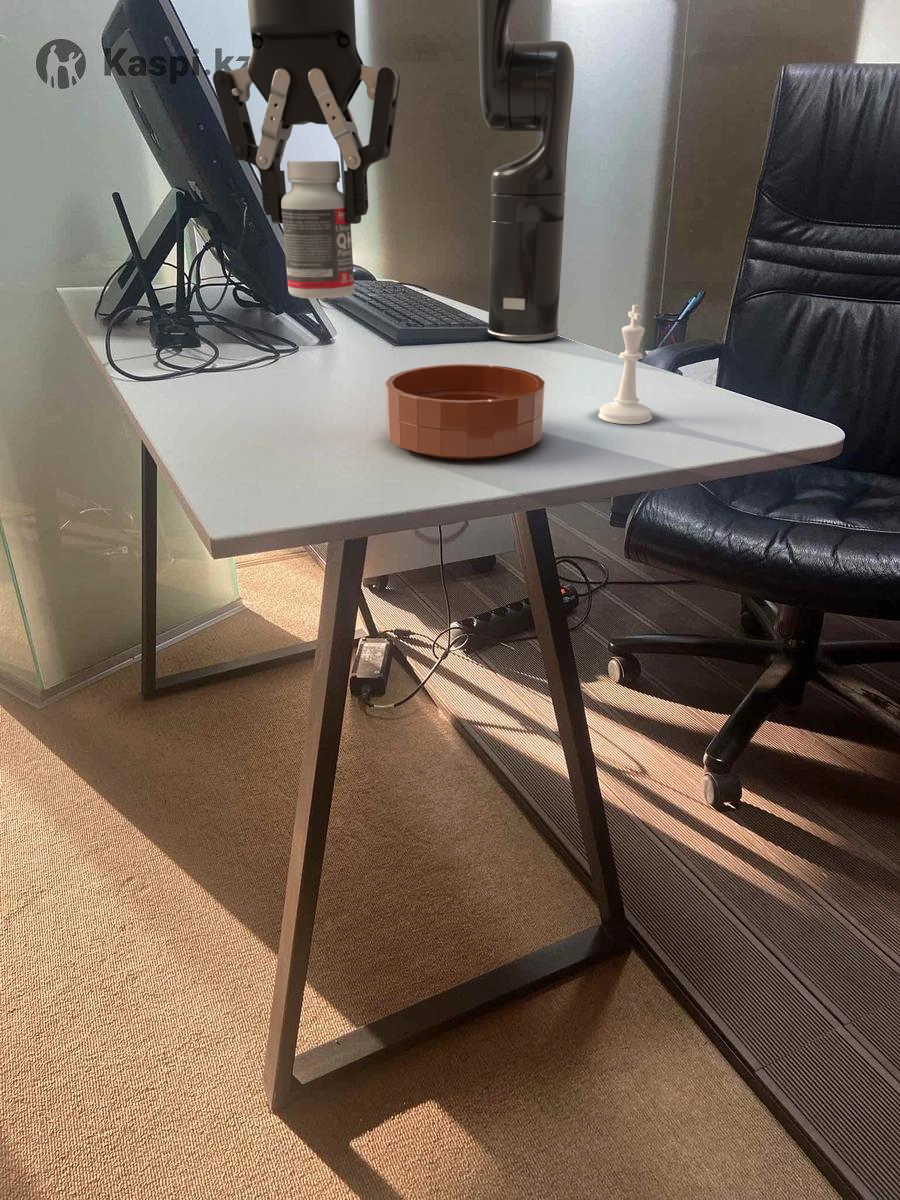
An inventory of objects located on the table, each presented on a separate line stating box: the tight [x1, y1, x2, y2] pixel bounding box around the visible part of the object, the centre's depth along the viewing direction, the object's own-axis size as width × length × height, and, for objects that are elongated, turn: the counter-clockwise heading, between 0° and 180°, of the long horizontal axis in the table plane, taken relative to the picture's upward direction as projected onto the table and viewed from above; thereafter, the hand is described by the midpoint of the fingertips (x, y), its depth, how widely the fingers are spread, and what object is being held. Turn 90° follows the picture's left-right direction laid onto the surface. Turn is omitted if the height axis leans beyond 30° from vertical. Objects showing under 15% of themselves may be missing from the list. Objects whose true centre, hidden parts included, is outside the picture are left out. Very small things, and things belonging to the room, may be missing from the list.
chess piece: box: [598, 304, 653, 425], centre depth 78 cm, size 5×5×10 cm
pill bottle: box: [281, 160, 355, 300], centre depth 68 cm, size 5×5×10 cm
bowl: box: [384, 363, 546, 460], centre depth 73 cm, size 13×13×5 cm
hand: (316, 221), depth 68 cm, fingers closed on pill bottle, 5 cm apart
